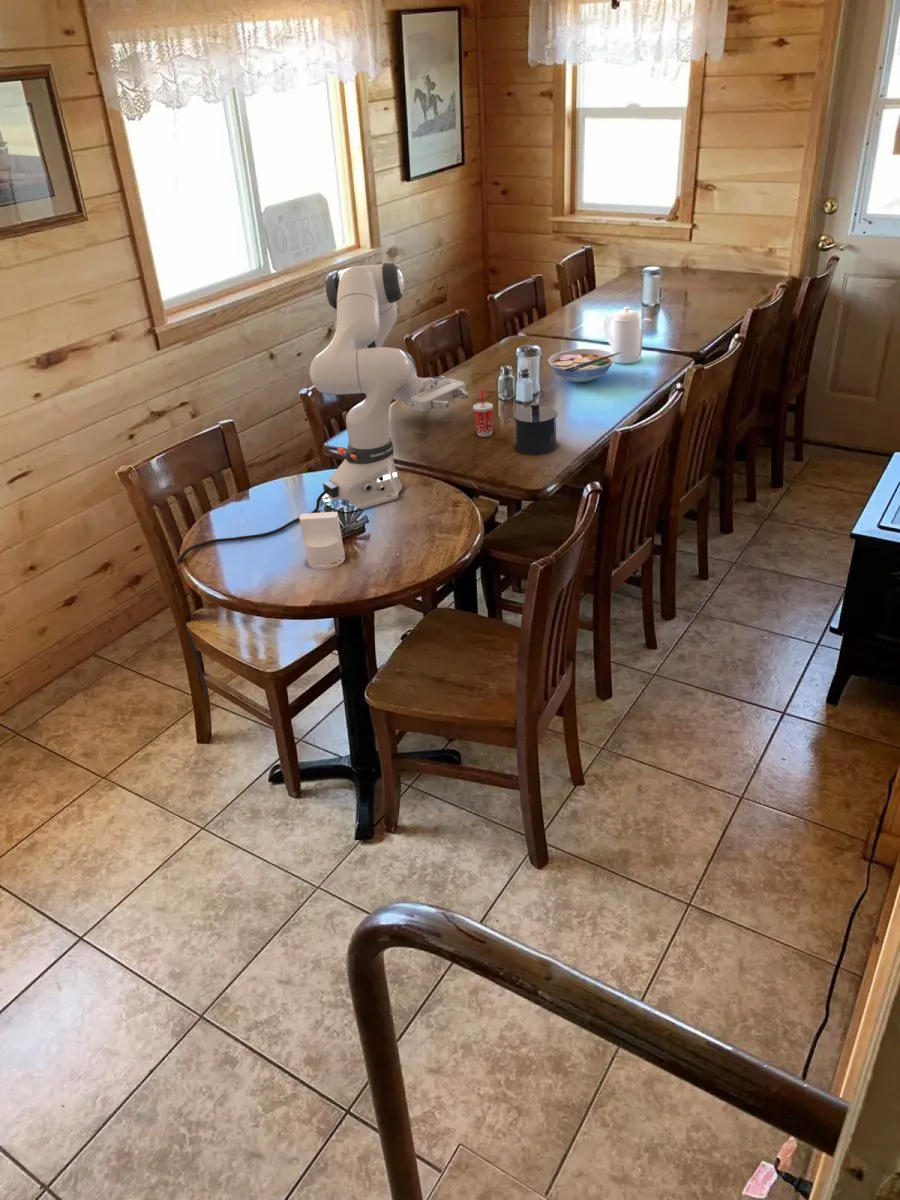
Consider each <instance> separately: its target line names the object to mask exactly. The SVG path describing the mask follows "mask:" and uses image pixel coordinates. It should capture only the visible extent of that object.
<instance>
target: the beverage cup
mask: <svg viewBox="0 0 900 1200" xmlns="http://www.w3.org/2000/svg"><path fill="white" fill-rule="evenodd" d="M480 391H481V392H480V393H481V402H478V403H475V404H473V406H472V408H473V409H472V410H473V414H474V419H475V427H476V435H477V436H479V437H483V438H485V437H490V436H492V435H493V409H494V404H493V403H491V402H486V401H485V402H484V389H481V390H480Z"/></svg>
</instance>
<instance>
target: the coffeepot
mask: <svg viewBox="0 0 900 1200" xmlns="http://www.w3.org/2000/svg"><path fill="white" fill-rule="evenodd" d="M612 319H613V324H612V335H611V332H610V328H611V327H610V326H611V321H612ZM640 320H641V316H640V314H639V312H637V311H636V310H631V307H630V306H625V307H623V310H619V311H617V312H616V313H612V314H609V315H608V314H607V316H606V317H605V318H604V321H603V332H604V336H605V339H606V341H607V343H608V344H609V345H610V347H611V348H610V353H612V354H616V353H619V352H620V354H617V355H615V359H614V362H613V363H616V364H620V365H621V364H622V365H628V364H635V363H637V362H639V361H640V360H641V358H642V350H643V341H644V340H643V338H644V328H645V327H644V326H645V322H653V320H652V318H649V317H645V318H643V319H642V321H641V322H640ZM640 323H641V324H640Z"/></svg>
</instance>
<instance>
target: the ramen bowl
mask: <svg viewBox="0 0 900 1200" xmlns="http://www.w3.org/2000/svg"><path fill="white" fill-rule="evenodd" d="M617 354H620V352H619V353H616V354H612V353H611V351H610V352H609V351H607V350H605V349H597V348H575V349H567V350H564V351H559V352H557V353H554V354H552V355H551V356H550V357H549V358H548V359H547V361H548V363H549V365H550V367H551V369H552V370H553V372H554V373H555V374H556V375H557V376H558V377H559V378H561V379H564V380H567V381H569V382H573V383H575V384H585V383H589V382H591V381H594V380H596V379H599V378H600V377H602V376H604V375H606V373H608V371H609V370H610V368H611V367H612V365H613V364H614V363H615V362H614V359H615V355H617Z"/></svg>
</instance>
